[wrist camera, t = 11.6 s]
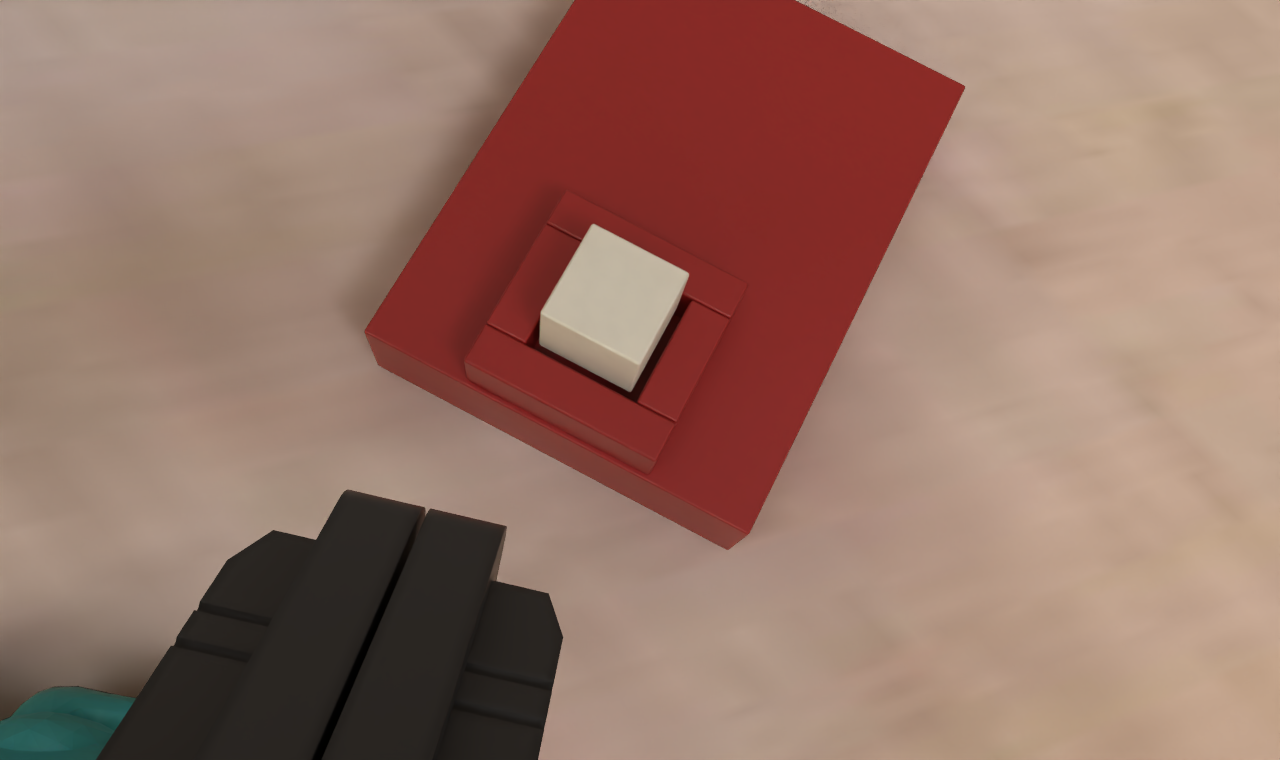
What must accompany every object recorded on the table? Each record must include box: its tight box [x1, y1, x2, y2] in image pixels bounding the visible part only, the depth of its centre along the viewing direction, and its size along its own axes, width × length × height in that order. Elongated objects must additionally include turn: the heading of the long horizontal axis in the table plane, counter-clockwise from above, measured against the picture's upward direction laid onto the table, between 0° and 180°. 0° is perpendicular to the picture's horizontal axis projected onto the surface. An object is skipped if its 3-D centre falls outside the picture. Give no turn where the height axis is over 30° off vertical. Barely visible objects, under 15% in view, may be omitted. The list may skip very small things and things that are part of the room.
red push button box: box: [365, 0, 965, 550], centre depth 34 cm, size 12×16×5 cm
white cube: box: [539, 224, 689, 392], centre depth 29 cm, size 3×3×2 cm
